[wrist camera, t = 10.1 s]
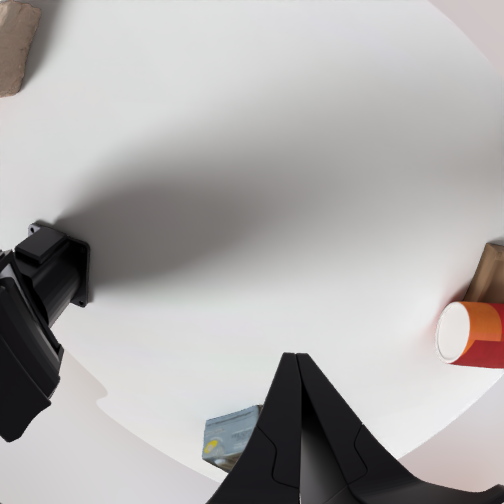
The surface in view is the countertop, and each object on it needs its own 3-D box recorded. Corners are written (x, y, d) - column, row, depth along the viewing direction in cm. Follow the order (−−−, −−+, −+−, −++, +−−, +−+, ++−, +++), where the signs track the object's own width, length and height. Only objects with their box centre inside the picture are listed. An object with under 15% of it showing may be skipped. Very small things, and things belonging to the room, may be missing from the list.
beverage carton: (260, 400, 29) (261, 452, 23) (326, 452, 36) (332, 488, 30) (203, 418, 31) (197, 464, 25) (281, 465, 38) (283, 499, 32)
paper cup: (421, 361, 24) (504, 362, 24) (461, 388, 17) (543, 378, 16) (438, 284, 25) (518, 299, 24) (486, 291, 17) (561, 305, 16)
